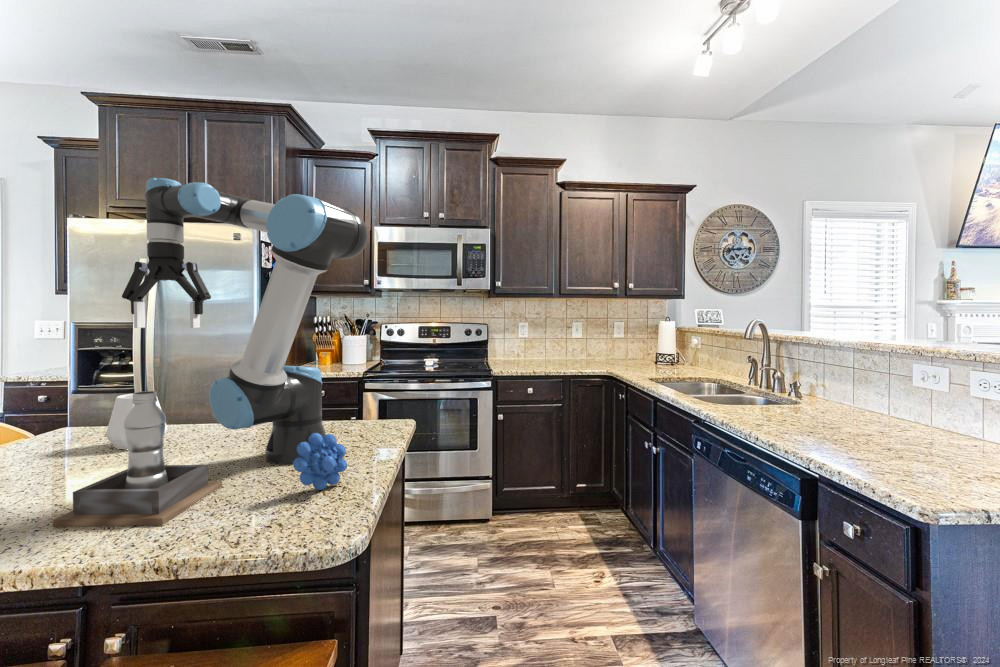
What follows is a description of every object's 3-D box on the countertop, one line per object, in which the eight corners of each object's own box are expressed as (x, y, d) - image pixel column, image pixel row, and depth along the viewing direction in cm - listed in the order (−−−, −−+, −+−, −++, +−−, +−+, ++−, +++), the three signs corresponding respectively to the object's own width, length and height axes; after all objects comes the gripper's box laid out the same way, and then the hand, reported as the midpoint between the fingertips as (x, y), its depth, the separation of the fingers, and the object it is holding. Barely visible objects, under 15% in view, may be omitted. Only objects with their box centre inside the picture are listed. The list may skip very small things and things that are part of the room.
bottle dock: (222, 486, 97) (221, 462, 96) (162, 525, 79) (162, 494, 78) (133, 487, 96) (132, 462, 96) (53, 526, 78) (52, 496, 78)
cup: (128, 439, 134) (127, 391, 133) (177, 438, 135) (177, 391, 135) (92, 453, 121) (91, 399, 120) (148, 451, 122) (147, 399, 122)
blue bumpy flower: (305, 503, 88) (304, 441, 87) (287, 495, 92) (287, 435, 92) (358, 486, 97) (357, 429, 96) (340, 479, 101) (339, 424, 101)
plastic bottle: (121, 507, 83) (118, 396, 82) (130, 494, 89) (127, 391, 88) (165, 501, 86) (162, 393, 85) (170, 489, 92) (168, 388, 91)
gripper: (225, 245, 120) (226, 327, 121) (126, 245, 119) (128, 327, 120) (207, 240, 113) (209, 328, 113) (102, 240, 112) (104, 328, 112)
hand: (167, 327), depth 117 cm, fingers open, 13 cm apart
